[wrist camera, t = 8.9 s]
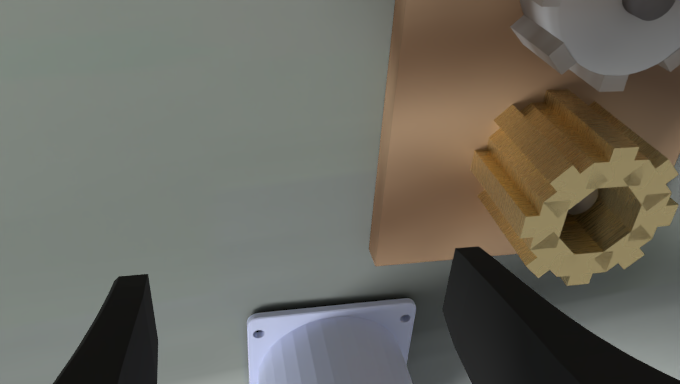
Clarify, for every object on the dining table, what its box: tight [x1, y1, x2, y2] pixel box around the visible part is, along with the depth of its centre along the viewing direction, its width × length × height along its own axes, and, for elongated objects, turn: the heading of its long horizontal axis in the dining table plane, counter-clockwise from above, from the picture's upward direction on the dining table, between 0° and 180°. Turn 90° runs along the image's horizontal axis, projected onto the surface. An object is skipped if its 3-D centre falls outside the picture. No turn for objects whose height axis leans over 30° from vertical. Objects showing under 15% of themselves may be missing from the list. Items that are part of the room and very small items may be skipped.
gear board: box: [369, 0, 680, 266], centre depth 21 cm, size 18×13×5 cm
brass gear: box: [471, 89, 679, 286], centre depth 23 cm, size 6×6×4 cm
